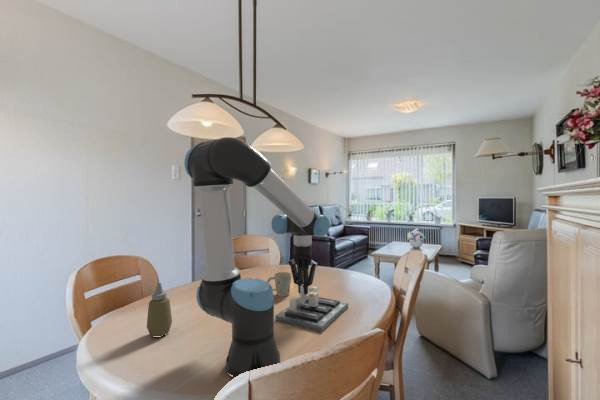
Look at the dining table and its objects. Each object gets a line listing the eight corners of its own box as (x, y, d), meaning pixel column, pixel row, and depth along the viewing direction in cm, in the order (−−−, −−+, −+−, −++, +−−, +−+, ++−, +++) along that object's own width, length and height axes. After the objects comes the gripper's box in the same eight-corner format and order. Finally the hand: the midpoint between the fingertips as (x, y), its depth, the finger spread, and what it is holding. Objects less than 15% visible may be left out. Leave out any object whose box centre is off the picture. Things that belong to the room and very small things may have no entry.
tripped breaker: (315, 307, 117) (315, 294, 117) (308, 305, 118) (308, 293, 118) (318, 304, 119) (318, 292, 119) (312, 303, 121) (312, 291, 121)
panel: (322, 331, 103) (321, 309, 102) (275, 320, 113) (275, 299, 112) (348, 307, 125) (348, 288, 125) (307, 299, 135) (307, 282, 135)
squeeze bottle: (165, 327, 108) (165, 278, 107) (176, 333, 102) (176, 282, 102) (142, 335, 101) (141, 283, 101) (153, 342, 96) (152, 288, 96)
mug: (289, 298, 138) (289, 276, 138) (263, 296, 140) (263, 275, 140) (293, 292, 146) (293, 272, 146) (269, 291, 148) (269, 271, 148)
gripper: (320, 244, 121) (321, 301, 121) (293, 242, 127) (294, 296, 128) (312, 247, 114) (313, 307, 115) (284, 245, 121) (285, 301, 121)
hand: (303, 301), depth 121 cm, fingers closed
